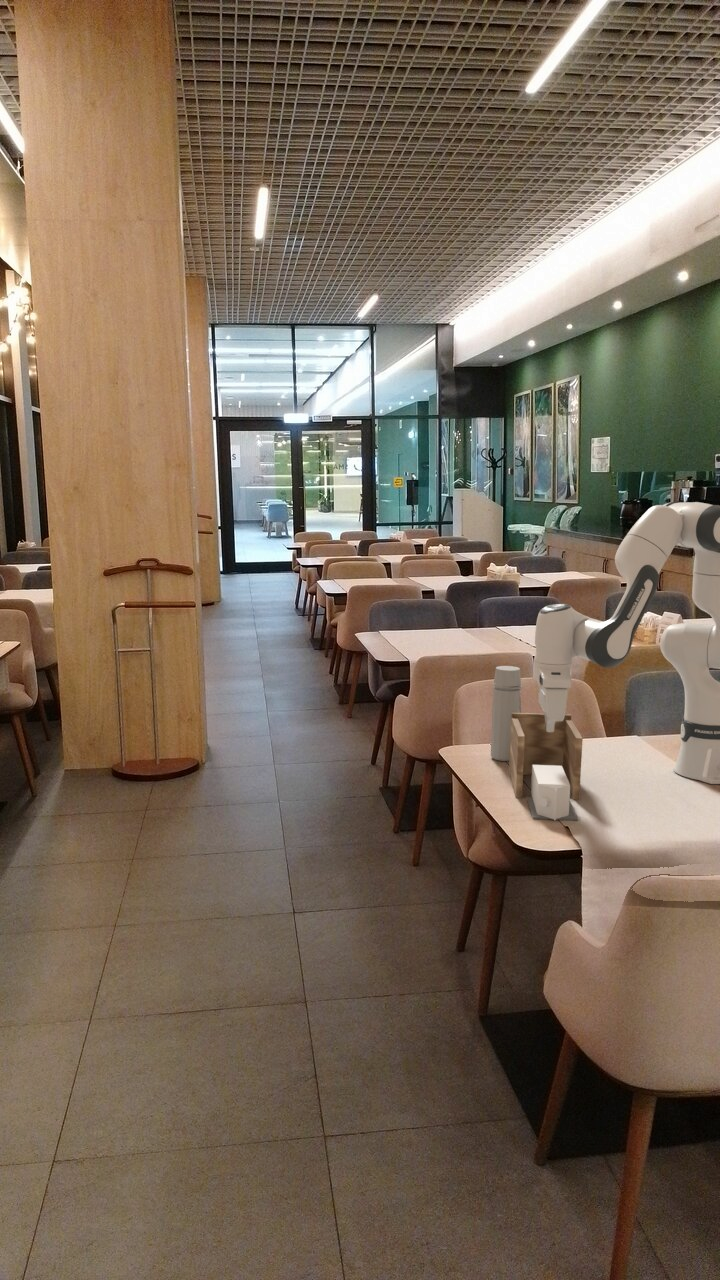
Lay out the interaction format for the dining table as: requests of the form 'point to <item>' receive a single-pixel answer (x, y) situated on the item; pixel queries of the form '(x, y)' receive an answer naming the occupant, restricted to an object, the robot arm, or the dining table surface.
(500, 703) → the water bottle
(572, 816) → the mat
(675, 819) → the dining table surface
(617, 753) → the dining table surface
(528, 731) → the shelf bay
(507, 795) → the dining table surface
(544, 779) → the milk carton
